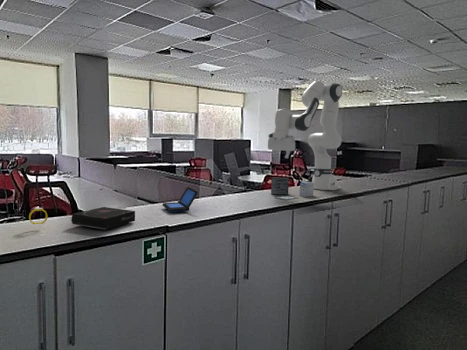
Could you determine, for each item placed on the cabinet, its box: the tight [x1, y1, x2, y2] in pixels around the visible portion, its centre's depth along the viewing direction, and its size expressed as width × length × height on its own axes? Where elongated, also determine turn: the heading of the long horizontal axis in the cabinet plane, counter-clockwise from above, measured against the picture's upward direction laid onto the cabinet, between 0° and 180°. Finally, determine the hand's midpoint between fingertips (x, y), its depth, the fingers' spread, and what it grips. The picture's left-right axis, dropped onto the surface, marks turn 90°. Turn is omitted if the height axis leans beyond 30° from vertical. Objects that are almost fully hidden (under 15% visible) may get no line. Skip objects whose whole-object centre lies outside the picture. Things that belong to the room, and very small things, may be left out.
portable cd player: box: [70, 206, 136, 230], centre depth 141 cm, size 16×17×4 cm
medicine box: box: [299, 181, 314, 198], centre depth 218 cm, size 8×4×9 cm, turn 130°
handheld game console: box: [161, 186, 198, 213], centre depth 172 cm, size 16×13×9 cm
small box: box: [270, 176, 290, 196], centre depth 223 cm, size 11×6×10 cm, turn 84°
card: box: [274, 195, 299, 201], centre depth 209 cm, size 12×8×1 cm, turn 129°
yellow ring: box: [28, 207, 48, 225], centre depth 134 cm, size 6×3×6 cm, turn 127°
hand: (280, 157), depth 221 cm, fingers open, 8 cm apart
